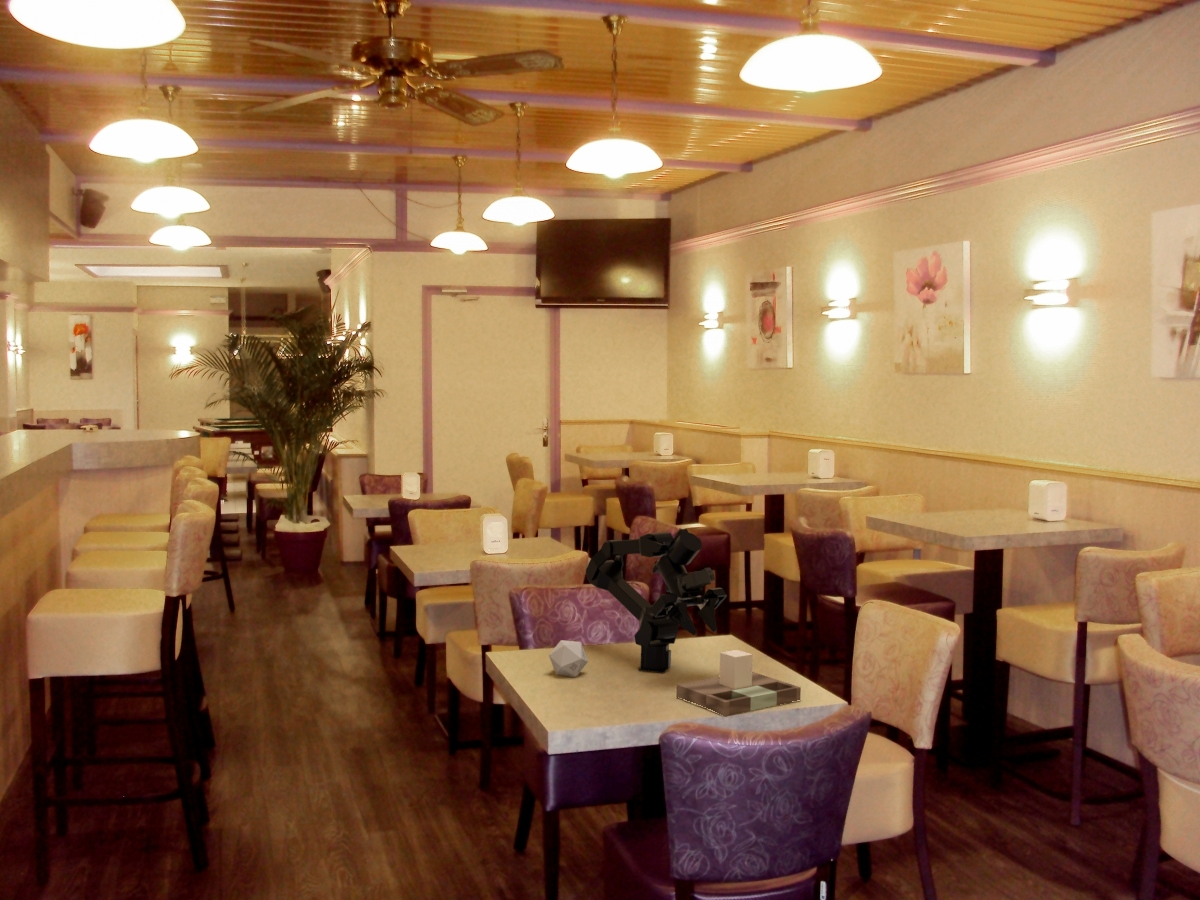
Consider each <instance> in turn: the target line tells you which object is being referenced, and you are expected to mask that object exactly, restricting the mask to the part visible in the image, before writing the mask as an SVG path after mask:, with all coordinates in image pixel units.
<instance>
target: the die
mask: <svg viewBox="0 0 1200 900" xmlns="http://www.w3.org/2000/svg"><path fill="white" fill-rule="evenodd" d="M548 657H549V661H550V662H551V665H552V667H553V671H554V673H555V675H556V676H562V677H563V676H565V677H574V678H577V677H578V675H579V674H580V673H581V672H582V670H583V669H584V668H585V666H586V665H587V664H588V663H589V661H588V660H589V659H588V658H587V655H586V652H585V649H584V646H583V644H582V642H581V641H575V640H574V641H572V640H563V639H561V640H559V642H558V643H557V644H556V646H555V647H554V648H553V649H552V651H550V653H549V654H548Z"/></svg>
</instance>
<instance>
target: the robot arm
mask: <svg viewBox="0 0 1200 900" xmlns="http://www.w3.org/2000/svg"><path fill="white" fill-rule="evenodd" d="M702 547H703V543H702V541H701V539H700V538H698V536H696V535H695V534H694V533H693V532H689V529H687V528H680V529H678V531H677V533H676V535H675V536H673V534H672V533H671V532H668V531H665V532H653V533H652V532H651V533H645V534H643V535H641V536H639V537H638V538H636V539H635V538H634V539H610V540H607V541H604V542H603V543H602V545H601V548H600V549H599V550H598V551H596V553H595V554H594V555H593V556H591V558H590V560H589V561H588V564H587V566H586V569H585V576H586V577H585V578H586V579H587V581H588V582H589V584H590V585H592V586H593V587H595V588H597V589H600V590H603V591H606V592H609V593H610V594H611V596H612V597H614V598H615V599H616V600H617V601H618V603H620V604H621V605H622V606H623V607H624V608H625V609H626V610H627V611H628V612H629V613H630V614H631V615H632V616H634V617H635V619H636V620H637V621H638V627H639V629H638V630H637V632H636V633H635V634H634V635H633V636H634V641H635V644H636V645H638V646H640V667H639V668H638V671H641V672H651V673H666V672H667V671H668V670H669V669H670V668H671V665H672V650H671V649H670V645H671V644H672V645H673V644H674V645H675V642H676V639H677V635H678V632H679V626H680V627H681V628H682V629H684V630H686V631H687V632H688V633H689V634H691V635H693V636H696V635H697V633H698V632H697V629H696V626H695V624H694V622H693V621H692V620H693V619H692V618H691V616H690V614H689V612H688V607H691V606H697V607H698V608H699V611H698V612H697V614H698V616H699V617H700V618H701V620H702V621H703V622H704V623H705V624H706V626H707V627H708V629H710V631H711V632H712V633H715V632H717V630H718V629H717V621H716V613H715V612H716V611H715V610H717V608H719V606H720V605H721V604H722V603H723V602H724V600H725V599H726V598H727V597H728V595H727V593H726V592H725V589H724V588H722V587H712V588H708V589H707V590H706V591H705V593H704V594H703V595H700V593H702V592H703V590H704V588H703V587H706V586H707V585H709V586H710V585H712V582H713V581H715V579H716V578H715V577H716V575H715V574H714V571H713V570H712V568H711V567H704V569H701V570H698V571H692V572H688V571H687V569H686V567H685V566H688V565H689V564H691V562H692V561H693V559H694V558H695V557H696V556H697V554H699V552H700V550H701V549H702ZM635 554H639V555H641V556H642V557H646V558H657V557H658V558H659V559H658V560H656V561H654V564H653V567H652V573H653V574H657V573H658V574H660V575H661V577H662V579H663V581H664V583H665V585H666V586H665V587H664V590H665V592H666V593H663V594H660V595H659V596H658V597H657V599H656V600H655V601H654V602H653V604H651V603H650V602H649V601H648V600H646V598H644V596H643V595H642V594H641V593H639V592H638V591H637V590H636V589H635V588H634V587H633V586H632V585H631V584H629V583H628V582H627V581H626V580H625V579H624V578H623V577H624V576H623V568H624V565H625V564H624V555H635ZM610 557H614V559H610V560H609V558H610Z"/></svg>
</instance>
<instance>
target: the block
mask: <svg viewBox="0 0 1200 900" xmlns="http://www.w3.org/2000/svg"><path fill="white" fill-rule="evenodd" d="M752 672H753V654H752V653H748V652H745V651H743V650H739V649H733V650H727V651H722V652H719V677H720V682H719V684H721V685H724V686H727V687H730V688H733V689H738V688H743V687H749V686H752Z"/></svg>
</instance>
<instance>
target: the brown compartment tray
mask: <svg viewBox="0 0 1200 900" xmlns="http://www.w3.org/2000/svg"><path fill="white" fill-rule="evenodd" d="M719 682H720V676H716V677H711V678H705V679H700V680H694V681H688V682H683V683H676V691H675V693H676V696H675V697H679V698H682V699H685V700H687V701H690V702H693V703H696V704H698V705H701V706H703V707H706V708H708V709H711V710H713V711H715V712H717V713H719V714H718V715H720V714H721V715H720V716H722V715H723V716H722V717H730V716H734V715H739V714H743V712H744V713H748V711H749V712H753V711H752V710H754V711H757V710H756V709H759V710H762V709H761V708H763V709H767V708H766V707H768V708H771V707H770V706H773V707H776V706H775V705H778V706H781V705H780V704H783V705H785V704H784V703H788V704H790V703H789V702H792V701H797V700H800V701H801V691H802V689H801V688H802V687H801V686H799V685H795V684H792V683H788V682H786V681H782V680H779V679H776V678H773V677H770V676H767V675H763V674H760V673H757V672H755V671H752V686H749V687H743V688H738V689H733V688H730V687H727V686H724V685H721V684H719ZM797 702H798V701H797ZM717 713H716V714H717Z"/></svg>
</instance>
